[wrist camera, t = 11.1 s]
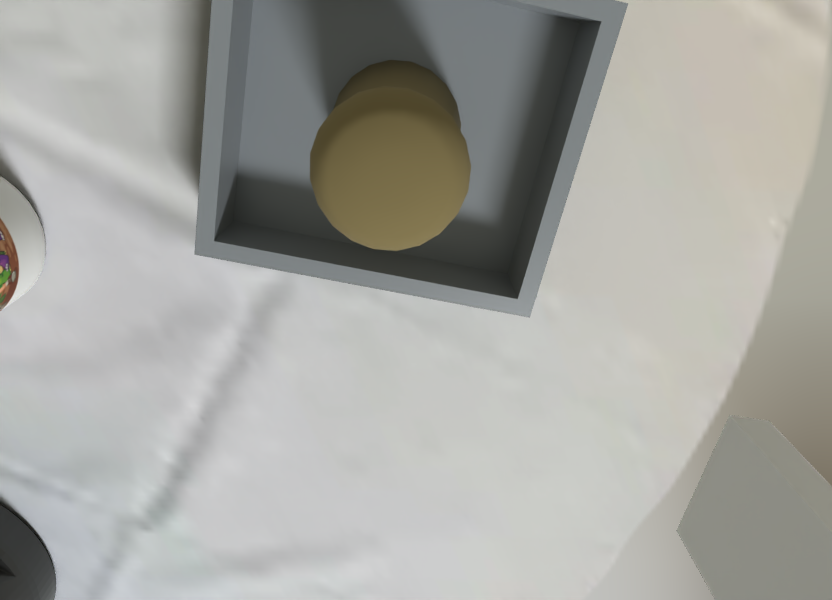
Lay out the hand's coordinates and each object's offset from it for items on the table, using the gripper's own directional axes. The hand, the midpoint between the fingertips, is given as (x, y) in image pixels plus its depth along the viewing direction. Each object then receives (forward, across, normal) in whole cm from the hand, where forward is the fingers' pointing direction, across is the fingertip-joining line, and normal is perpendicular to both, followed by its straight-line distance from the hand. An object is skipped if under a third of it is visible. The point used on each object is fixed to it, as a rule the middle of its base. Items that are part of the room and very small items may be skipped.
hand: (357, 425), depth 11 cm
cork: (+20, 0, +2) cm, 20 cm away
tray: (+21, 0, +2) cm, 21 cm away
